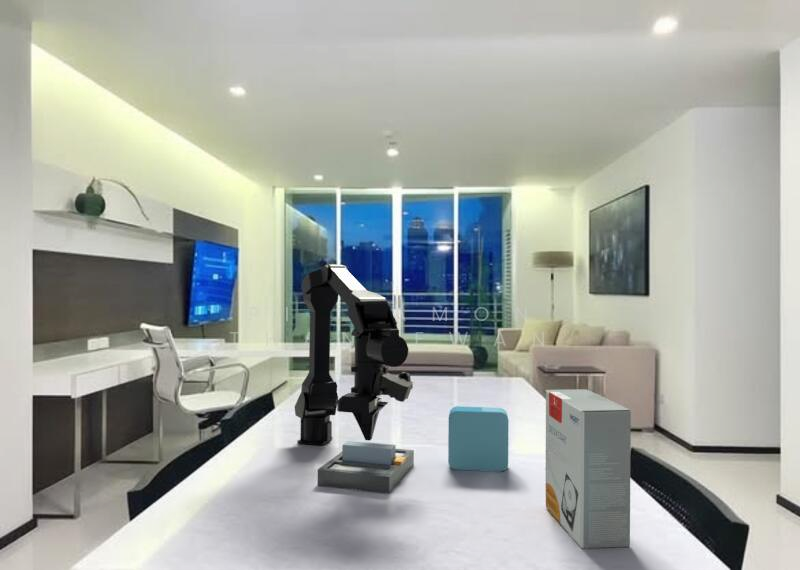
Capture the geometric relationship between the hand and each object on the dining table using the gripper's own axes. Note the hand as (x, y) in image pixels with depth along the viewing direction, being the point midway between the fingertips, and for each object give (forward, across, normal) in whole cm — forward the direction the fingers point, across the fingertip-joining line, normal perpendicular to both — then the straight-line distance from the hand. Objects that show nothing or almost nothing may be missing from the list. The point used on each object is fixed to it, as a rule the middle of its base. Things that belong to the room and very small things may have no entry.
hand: (368, 439), depth 112 cm
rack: (+7, 0, 0) cm, 7 cm away
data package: (+7, +11, -20) cm, 24 cm away
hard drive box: (+7, -13, -40) cm, 43 cm away
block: (+7, 0, 0) cm, 7 cm away
